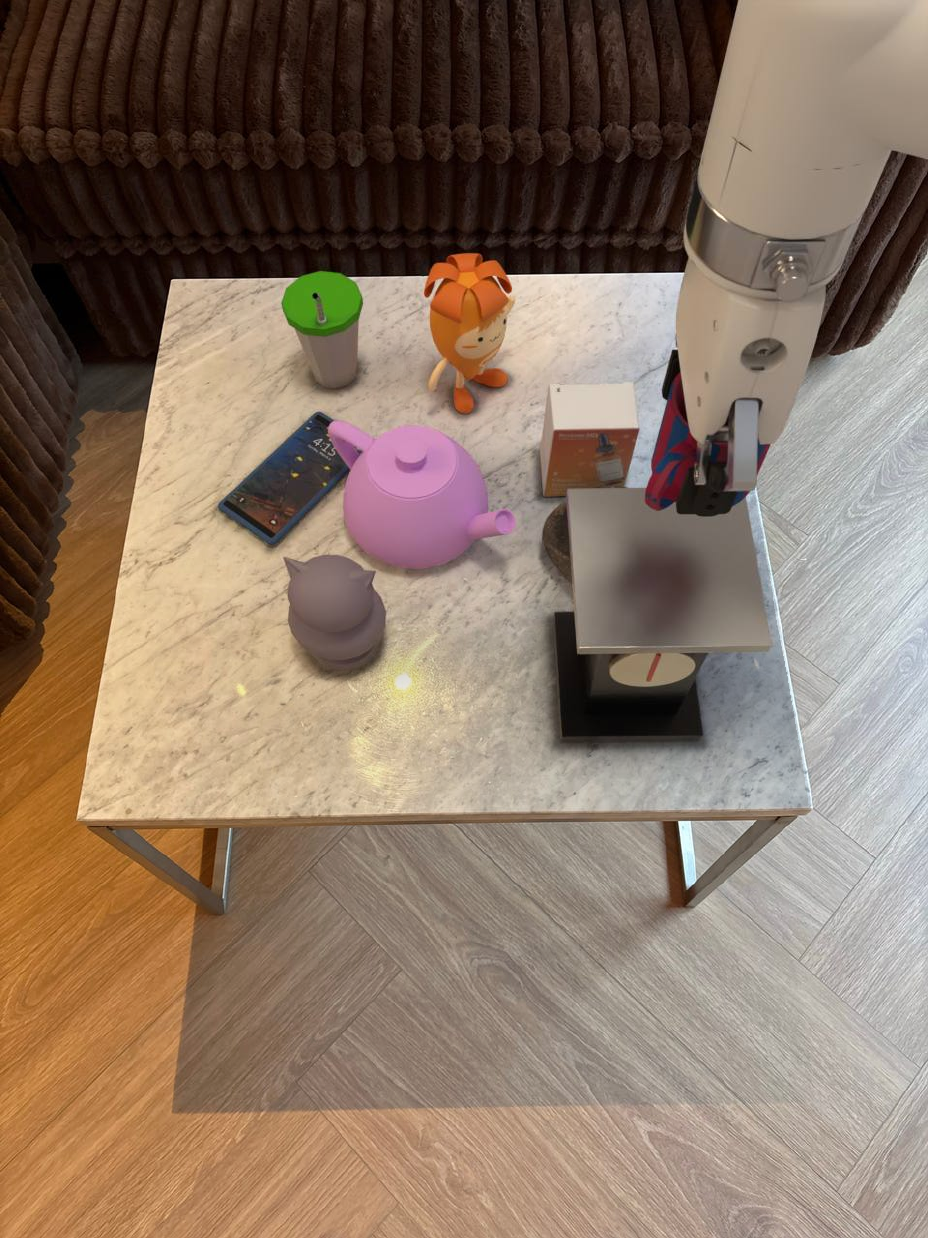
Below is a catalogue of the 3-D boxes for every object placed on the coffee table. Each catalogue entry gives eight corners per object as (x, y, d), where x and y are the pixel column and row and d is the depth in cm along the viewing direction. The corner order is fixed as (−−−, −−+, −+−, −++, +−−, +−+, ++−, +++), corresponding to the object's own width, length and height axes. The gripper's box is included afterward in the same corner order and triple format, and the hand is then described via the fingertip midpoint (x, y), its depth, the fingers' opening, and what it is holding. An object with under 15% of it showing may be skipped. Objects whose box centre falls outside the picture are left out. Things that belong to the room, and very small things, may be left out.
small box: (542, 498, 93) (550, 430, 84) (539, 452, 96) (546, 381, 86) (623, 496, 93) (641, 428, 84) (618, 451, 96) (634, 379, 86)
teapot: (472, 622, 87) (472, 563, 77) (299, 523, 92) (279, 456, 82) (548, 516, 92) (557, 448, 83) (380, 428, 97) (371, 355, 88)
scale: (688, 613, 87) (744, 486, 69) (706, 747, 81) (772, 646, 63) (547, 614, 87) (567, 488, 69) (554, 748, 81) (578, 648, 63)
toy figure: (453, 436, 97) (450, 329, 83) (401, 393, 99) (390, 282, 86) (534, 374, 100) (543, 261, 87) (481, 334, 103) (483, 219, 90)
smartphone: (214, 504, 92) (317, 408, 97) (216, 509, 92) (318, 413, 98) (272, 545, 90) (374, 444, 95) (273, 549, 90) (374, 449, 96)
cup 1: (322, 336, 103) (300, 221, 90) (385, 360, 101) (372, 247, 88) (284, 385, 100) (255, 274, 86) (348, 411, 98) (329, 302, 85)
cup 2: (775, 473, 61) (808, 403, 55) (669, 560, 58) (692, 497, 52) (699, 412, 64) (721, 339, 58) (593, 494, 61) (606, 425, 55)
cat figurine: (287, 671, 85) (260, 609, 74) (308, 595, 88) (286, 525, 77) (380, 686, 84) (367, 625, 73) (398, 609, 87) (388, 540, 77)
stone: (685, 572, 89) (696, 544, 85) (595, 630, 86) (602, 604, 82) (610, 491, 93) (617, 460, 89) (522, 543, 91) (525, 514, 86)
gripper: (893, 360, 39) (774, 572, 55) (820, 95, 47) (735, 345, 63) (712, 361, 39) (645, 572, 55) (670, 97, 47) (622, 346, 63)
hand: (693, 450), depth 59 cm, fingers closed on cup 2, 8 cm apart
